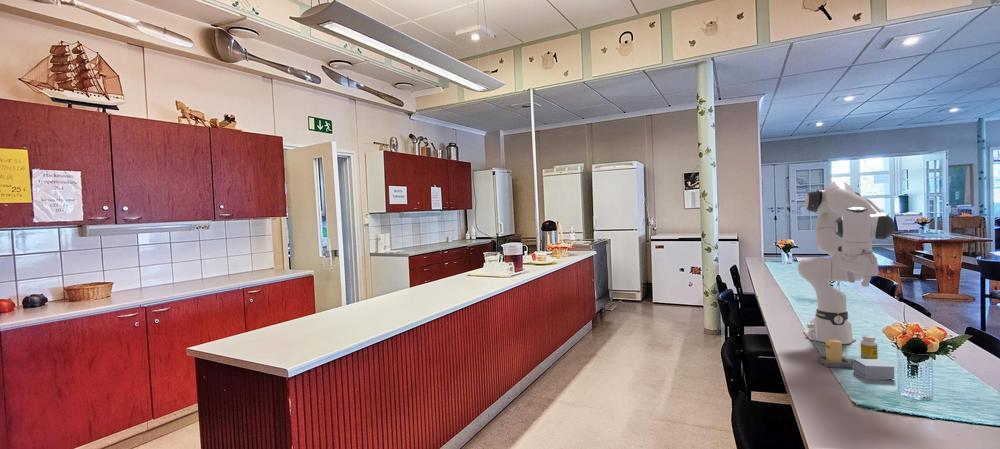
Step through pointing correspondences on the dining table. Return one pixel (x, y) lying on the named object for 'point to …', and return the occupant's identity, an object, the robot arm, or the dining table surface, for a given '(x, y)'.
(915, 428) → the dining table surface
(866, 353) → the supplement bottle
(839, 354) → the stub
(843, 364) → the dish
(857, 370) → the block
